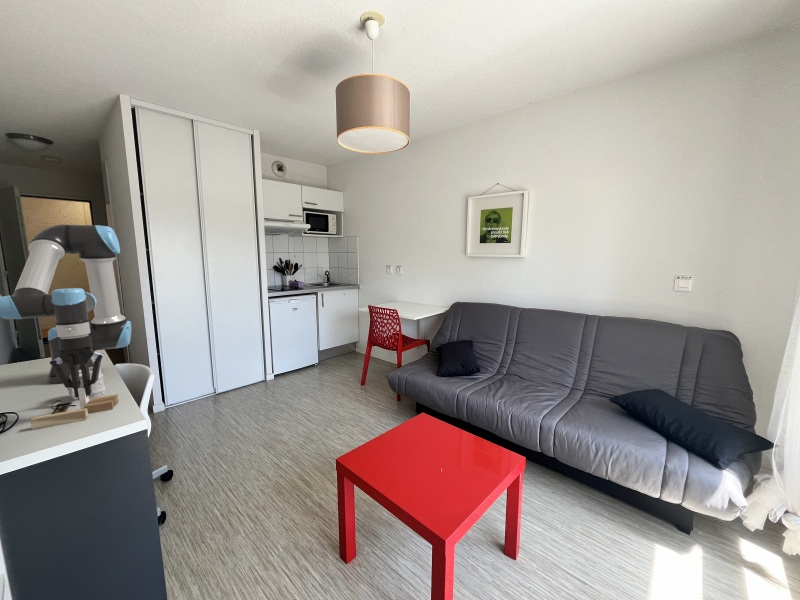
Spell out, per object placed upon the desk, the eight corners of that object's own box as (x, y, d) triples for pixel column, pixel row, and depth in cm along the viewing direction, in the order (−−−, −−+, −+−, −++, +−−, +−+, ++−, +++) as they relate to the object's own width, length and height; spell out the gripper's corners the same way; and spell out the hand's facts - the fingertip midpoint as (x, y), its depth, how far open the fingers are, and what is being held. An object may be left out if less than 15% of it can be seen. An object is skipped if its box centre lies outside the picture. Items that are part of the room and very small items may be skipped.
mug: (112, 390, 125) (107, 360, 123) (82, 404, 113) (77, 371, 111) (92, 391, 125) (87, 360, 123) (60, 404, 113) (55, 371, 111)
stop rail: (35, 426, 98) (33, 417, 97) (88, 417, 103) (87, 408, 103) (31, 429, 96) (30, 420, 96) (86, 419, 102) (84, 410, 101)
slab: (92, 407, 111) (91, 398, 111) (118, 402, 115) (117, 394, 114) (84, 415, 105) (83, 406, 105) (112, 410, 109) (111, 401, 108)
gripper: (40, 341, 99) (52, 414, 102) (97, 335, 105) (107, 405, 108) (52, 336, 105) (63, 405, 108) (104, 331, 111) (113, 397, 114)
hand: (85, 405), depth 108 cm, fingers closed
